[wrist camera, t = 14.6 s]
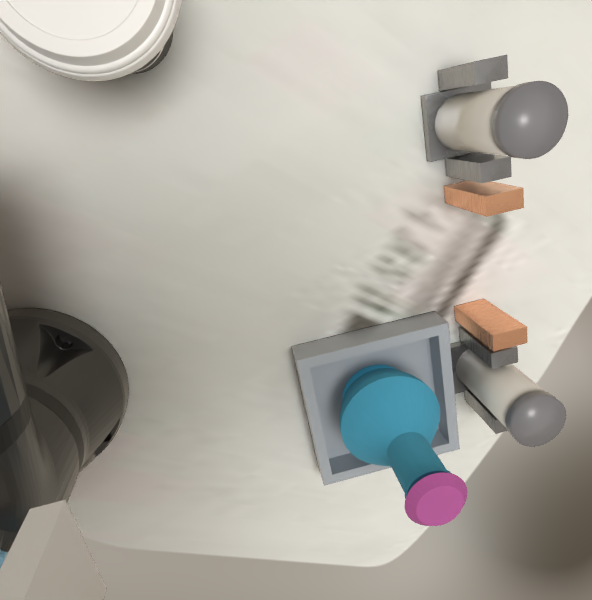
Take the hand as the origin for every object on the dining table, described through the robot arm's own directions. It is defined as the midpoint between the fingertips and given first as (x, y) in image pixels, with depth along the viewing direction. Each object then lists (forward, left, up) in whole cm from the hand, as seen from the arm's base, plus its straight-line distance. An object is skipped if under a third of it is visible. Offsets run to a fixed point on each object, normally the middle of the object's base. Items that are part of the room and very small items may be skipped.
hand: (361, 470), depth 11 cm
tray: (+7, -19, -32) cm, 38 cm away
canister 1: (+18, +4, -31) cm, 36 cm away
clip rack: (+18, -7, -32) cm, 37 cm away
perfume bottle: (+7, -19, -31) cm, 37 cm away
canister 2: (+18, -18, -31) cm, 40 cm away
